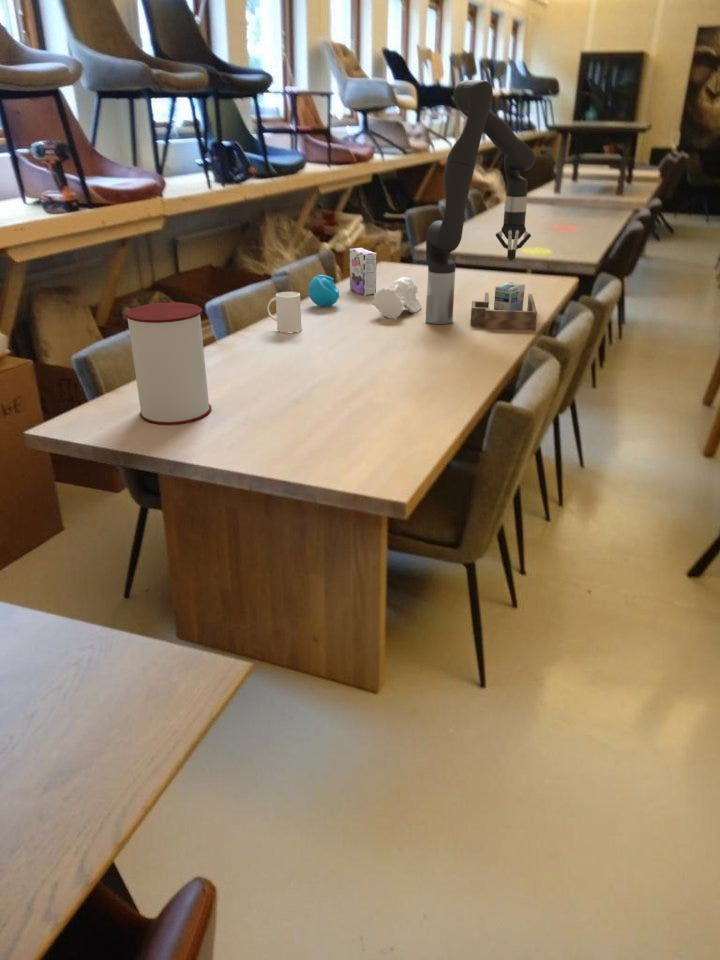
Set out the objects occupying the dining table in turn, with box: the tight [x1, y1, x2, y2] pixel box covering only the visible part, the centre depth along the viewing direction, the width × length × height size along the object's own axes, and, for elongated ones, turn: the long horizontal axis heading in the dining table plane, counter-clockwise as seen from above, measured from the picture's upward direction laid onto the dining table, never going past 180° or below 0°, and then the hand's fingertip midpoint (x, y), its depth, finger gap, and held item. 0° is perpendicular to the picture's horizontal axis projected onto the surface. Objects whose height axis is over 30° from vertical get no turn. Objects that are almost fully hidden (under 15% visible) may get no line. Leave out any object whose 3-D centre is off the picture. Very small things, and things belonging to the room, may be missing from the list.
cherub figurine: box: [371, 276, 422, 320], centre depth 271 cm, size 13×12×20 cm
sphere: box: [308, 274, 340, 308], centre depth 278 cm, size 12×11×12 cm
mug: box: [267, 291, 303, 333], centre depth 249 cm, size 12×8×12 cm
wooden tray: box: [470, 292, 538, 331], centre depth 263 cm, size 22×27×6 cm
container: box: [125, 301, 212, 426], centre depth 178 cm, size 17×17×25 cm
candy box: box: [349, 247, 378, 297], centre depth 299 cm, size 14×6×16 cm, turn 25°
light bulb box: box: [493, 281, 526, 311], centre depth 266 cm, size 11×7×11 cm, turn 143°
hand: (511, 260), depth 271 cm, fingers closed
